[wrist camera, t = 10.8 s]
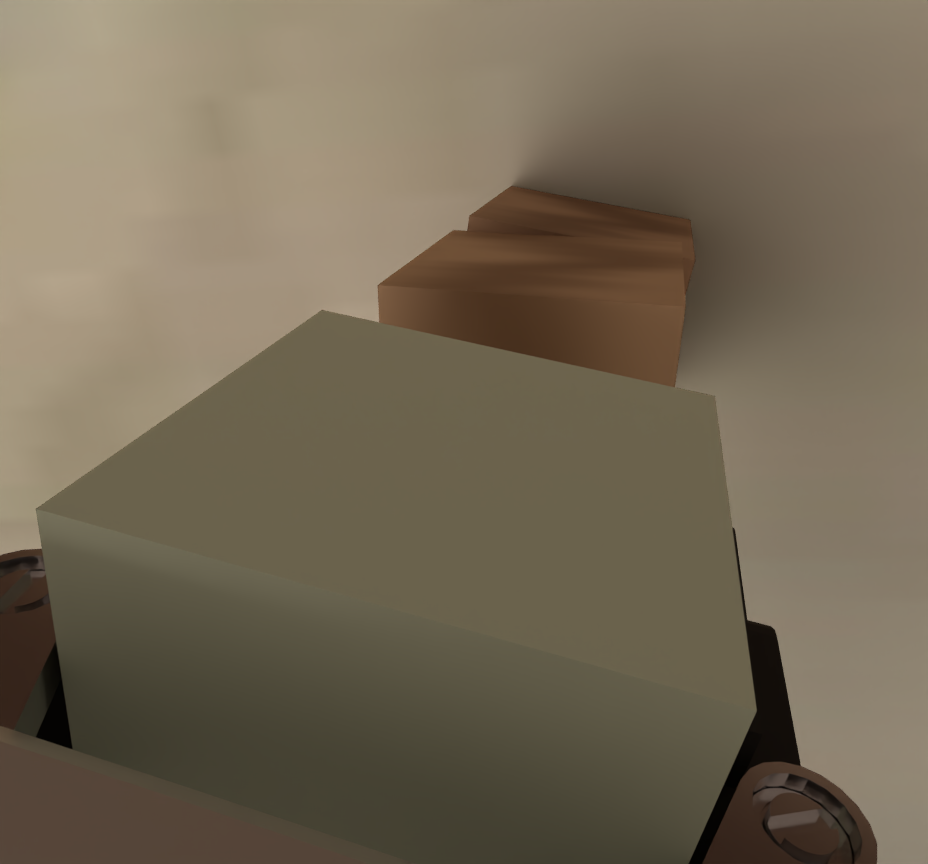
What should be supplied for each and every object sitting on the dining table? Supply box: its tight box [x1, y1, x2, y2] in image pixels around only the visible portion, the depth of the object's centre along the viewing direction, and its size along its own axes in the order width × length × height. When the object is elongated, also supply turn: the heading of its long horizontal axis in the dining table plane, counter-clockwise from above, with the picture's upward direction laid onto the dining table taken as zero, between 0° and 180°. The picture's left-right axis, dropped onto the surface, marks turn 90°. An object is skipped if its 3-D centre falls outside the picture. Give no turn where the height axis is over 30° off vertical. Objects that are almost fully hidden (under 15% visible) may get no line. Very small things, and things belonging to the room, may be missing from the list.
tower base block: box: [467, 186, 695, 295], centre depth 24 cm, size 6×6×6 cm
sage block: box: [36, 310, 757, 864], centre depth 10 cm, size 6×6×6 cm
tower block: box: [378, 230, 686, 387], centre depth 18 cm, size 6×6×6 cm
